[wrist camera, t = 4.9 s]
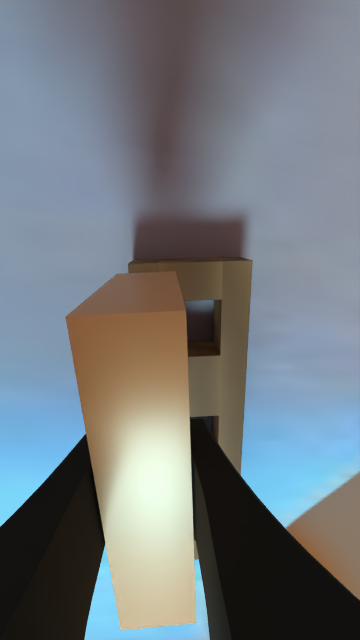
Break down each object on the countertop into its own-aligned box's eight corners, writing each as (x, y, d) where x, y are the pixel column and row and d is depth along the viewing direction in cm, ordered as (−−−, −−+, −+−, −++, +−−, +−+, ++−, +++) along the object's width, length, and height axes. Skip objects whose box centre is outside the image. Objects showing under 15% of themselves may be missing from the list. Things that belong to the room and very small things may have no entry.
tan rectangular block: (138, 471, 14) (120, 630, 9) (117, 273, 11) (65, 316, 5) (183, 468, 14) (196, 623, 9) (175, 271, 11) (185, 310, 5)
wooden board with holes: (152, 531, 24) (151, 562, 22) (133, 260, 17) (128, 263, 15) (228, 525, 25) (235, 556, 22) (240, 257, 18) (252, 260, 15)
